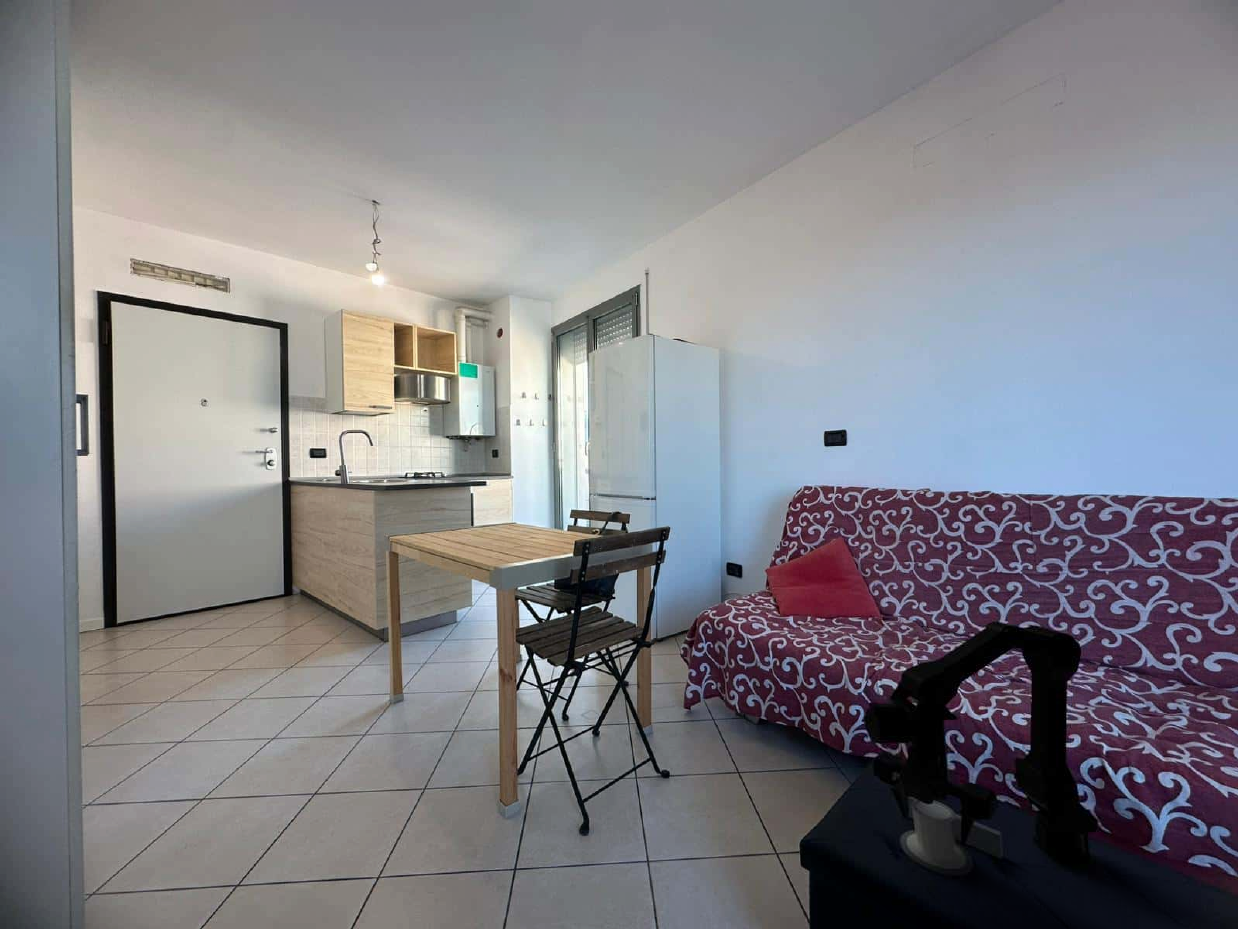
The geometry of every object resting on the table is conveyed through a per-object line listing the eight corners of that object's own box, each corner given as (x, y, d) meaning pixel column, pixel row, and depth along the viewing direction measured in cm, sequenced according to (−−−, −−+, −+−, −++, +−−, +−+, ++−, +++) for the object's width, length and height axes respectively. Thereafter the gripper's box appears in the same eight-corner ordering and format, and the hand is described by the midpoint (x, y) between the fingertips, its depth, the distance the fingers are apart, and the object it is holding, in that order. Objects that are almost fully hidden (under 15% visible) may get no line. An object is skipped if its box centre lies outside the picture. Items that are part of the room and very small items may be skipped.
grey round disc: (949, 833, 91) (948, 831, 91) (988, 878, 80) (988, 874, 80) (889, 831, 92) (889, 828, 92) (920, 874, 81) (920, 871, 81)
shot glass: (915, 855, 85) (912, 814, 85) (912, 832, 91) (909, 794, 91) (961, 869, 81) (958, 826, 82) (955, 844, 87) (952, 804, 88)
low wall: (902, 815, 96) (901, 795, 97) (905, 813, 97) (903, 792, 98) (1001, 859, 84) (999, 835, 85) (1003, 856, 85) (1001, 832, 85)
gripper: (857, 737, 90) (862, 825, 88) (976, 780, 76) (985, 885, 74) (881, 720, 97) (886, 801, 95) (994, 756, 83) (1002, 851, 81)
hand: (933, 831), depth 86 cm, fingers open, 9 cm apart
